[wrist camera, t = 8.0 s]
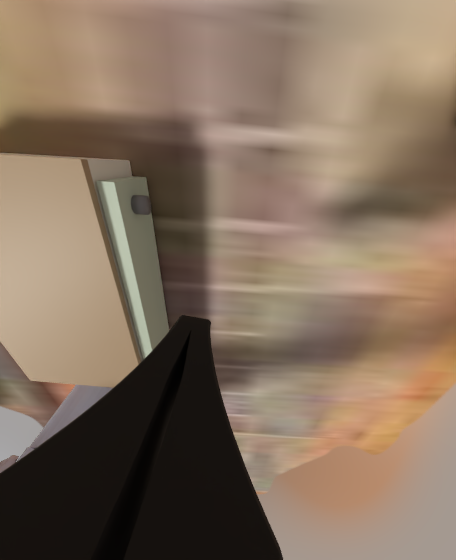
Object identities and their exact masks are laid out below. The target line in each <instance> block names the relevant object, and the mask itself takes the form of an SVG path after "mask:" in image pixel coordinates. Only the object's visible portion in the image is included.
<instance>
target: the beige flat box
mask: <svg viewBox="0 0 456 560" xmlns="http://www.w3.org/2000/svg"><path fill="white" fill-rule="evenodd" d="M124 177H132V172H131V166H130V160H118V159H101V158H84V157H67V156H49V155H32V154H15V153H0V341H1V343H2V344H3V345H4V347H5V348H6V349H7V351H8V352H9V353H10V355H11V356H12V357H13V358H14V360H15V361H16V362H17V364H18V365H19V366H20V368H21V369H22V370H23V372H24V373H25V374H26V375H27V377H28V378H29V379H30V380H31V381H42V382H53V383H65V384H76V385H87V386H99V387H110V388H114V387H115V386H116V385H117V384H118V383H119V382H121V381H122V380H123V379H124V378H125V377H126V376H127V375H128V374H129V373H130V372H131V371H132V370H134V369H135V368H136V367H137V366H138V365H139V364H140V363H141V362H142V361H143V360H144V359H143V355H142V351H141V348H140V344H139V340H138V336H137V333H136V329H135V325H134V322H133V318H132V314H131V310H130V307H129V303H128V299H127V295H126V292H125V288H124V284H123V280H122V277H121V273H120V269H119V265H118V262H117V258H116V254H115V250H114V247H113V243H112V239H111V235H110V232H109V228H108V224H107V220H106V217H105V213H104V209H103V205H102V202H101V198H100V194H99V191H98V187H97V183H96V181H101V180H109V179H116V178H124Z"/></svg>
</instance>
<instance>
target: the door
mask: <svg viewBox="0 0 456 560" xmlns="http://www.w3.org/2000/svg"><path fill="white" fill-rule="evenodd" d="M96 183H97V187H98V191H99V194H100V198H101V202H102V205H103V209H104V213H105V217H106V220H107V224H108V228H109V232H110V235H111V239H112V243H113V247H114V250H115V254H116V258H117V262H118V265H119V269H120V273H121V277H122V280H123V284H124V288H125V292H126V295H127V299H128V303H129V307H130V310H131V314H132V318H133V322H134V325H135V329H136V333H137V336H138V340H139V344H140V348H141V351H142V355H143V359H145V358H146V357H147V356H148V355H149V354H150V352H151V351H152V350H153V349H154V348H155V347H156V346H157V345H158V344H159V343H160V341H161V340H162V339H163V338H164V337H165V336H166V335H167V333H168V332H169V326H168V320H167V313H166V306H165V300H164V293H163V286H162V280H161V273H160V266H159V260H158V253H157V246H156V240H155V233H154V226H153V220H152V213H151V201H150V198H149V193H148V186H147V180H146V177H134V176H132V177H124V178H116V179H109V180H101V181H96Z"/></svg>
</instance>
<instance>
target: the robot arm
mask: <svg viewBox="0 0 456 560" xmlns="http://www.w3.org/2000/svg"><path fill="white" fill-rule="evenodd" d="M210 324H211V322H210V321H209V320H207V319H201V318H196V317H190V316H184V315H182V316H181V317H180V318H179V319H178V321H177V322H176V323H175V325H174V326H173V327H172V328H171V330H170V331H169V332H168V333H167V335H166V336H165V337H164V338H163V339H162V340H161V341H160V343H159V344H158V345H157V346H156V347H155V348H154V349H153V350H152V351H151V352H150V354H149V355H148V356H147V357H146V358H145V359H144V360H143V361H142V362H141V363H140V364H139V365H138V366H137V367H136V368H135V369H134V370H132V371H131V372H130V373H129V374H128V375H127V376H126V377H125V378H124V379H123V380H122V381H121V382H119V383H118V384H117V385H116V386H115V387H114V388H110V387H99V386H87V385H75V387H74V388H73V389H72V391H71V392H70V393H69V395H68V396H67V397H66V399H65V400H64V401H63V403H62V404H61V405H60V407H59V408H58V409H57V411H56V412H55V414H54V415H53V416H52V418H51V419H50V420H49V422H48V423H47V424H46V426H45V427H44V428H43V430H42V431H41V432H40V434H39V435H38V436H37V438H36V439H35V440H34V442H33V443H32V444H31V446H30V447H28V448H27V449H26V450H25V451H24V453H23V454H22V455H21V457H20V458H19V459H18V457H19V456H15V455H12V456H11V457H10V458H7V459H6V460H3V461H1V462H0V560H283V557H282V553H281V550H280V547H279V544H278V542H277V540H276V538H275V535H274V533H273V531H272V529H271V527H270V524H269V522H268V520H267V517H266V515H265V513H264V510H263V508H262V506H261V503H260V501H259V499H258V496H257V494H256V492H255V489H254V487H253V484H252V482H251V479H250V477H249V474H248V472H247V469H246V467H245V464H244V461H243V459H242V456H241V453H240V451H239V448H238V445H237V442H236V440H235V437H234V434H233V432H232V429H231V426H230V422H229V419H228V416H227V413H226V410H225V407H224V403H223V400H222V396H221V392H220V389H219V385H218V380H217V376H216V372H215V367H214V361H213V355H212V348H211V338H210ZM17 459H18V461H17V462H16V460H17Z"/></svg>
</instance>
